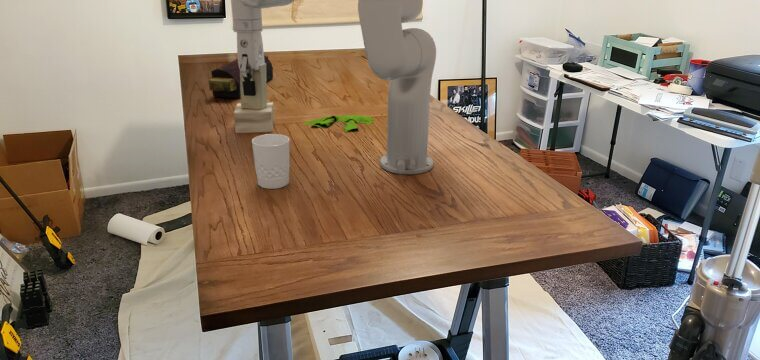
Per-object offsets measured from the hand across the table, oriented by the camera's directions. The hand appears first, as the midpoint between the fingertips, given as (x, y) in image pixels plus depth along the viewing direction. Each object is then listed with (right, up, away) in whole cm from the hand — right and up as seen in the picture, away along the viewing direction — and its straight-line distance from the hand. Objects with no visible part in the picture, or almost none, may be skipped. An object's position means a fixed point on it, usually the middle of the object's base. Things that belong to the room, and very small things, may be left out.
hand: (252, 91), depth 155 cm
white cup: (+12, -25, -32) cm, 43 cm away
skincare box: (0, -4, +2) cm, 5 cm away
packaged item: (-13, +8, +45) cm, 48 cm away
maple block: (0, -10, +4) cm, 10 cm away
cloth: (+23, -9, +7) cm, 26 cm away
